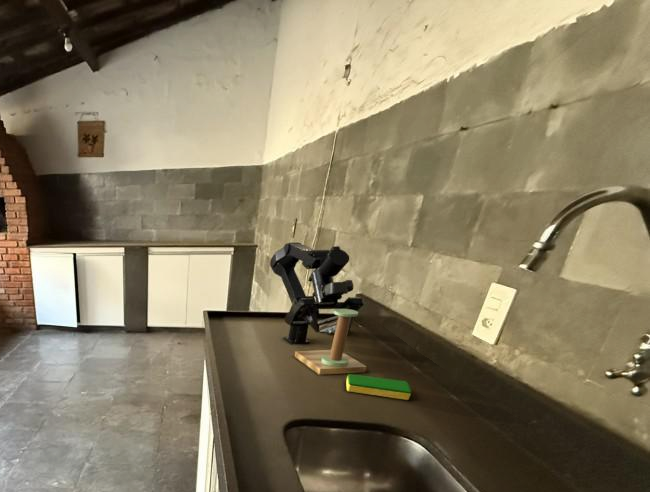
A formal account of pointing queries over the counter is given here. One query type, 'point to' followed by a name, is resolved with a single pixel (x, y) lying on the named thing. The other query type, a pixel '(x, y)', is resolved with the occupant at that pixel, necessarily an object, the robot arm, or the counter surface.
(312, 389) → the counter surface
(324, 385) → the counter surface
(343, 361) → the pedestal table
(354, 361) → the birch platform
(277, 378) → the counter surface
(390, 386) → the dish sponge
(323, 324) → the grey streaked wedge
